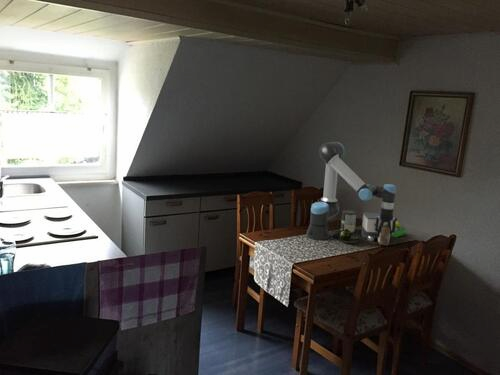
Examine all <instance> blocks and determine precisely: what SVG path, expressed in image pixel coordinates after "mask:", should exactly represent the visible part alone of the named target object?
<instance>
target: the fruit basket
mask: <svg viewBox="0 0 500 375" xmlns="http://www.w3.org/2000/svg"><path fill="white" fill-rule="evenodd" d="M406 230H407V228H406V227H403V226H400V222H399V221H398V220H397V221H396V225H395V232H394V233H392V234H391V237H394V238H397V237H401V236H404V235H405V232H406Z"/></svg>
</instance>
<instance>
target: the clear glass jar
mask: <svg viewBox="0 0 500 375" xmlns="http://www.w3.org/2000/svg"><path fill="white" fill-rule="evenodd" d="M356 219H357V211H355V210H351V209H343V210H342V212H341V224H340V231H342V230H345V229H348V230H349V231H350V232H349V233H354V232H355V230H356V221H357V220H356Z"/></svg>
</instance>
